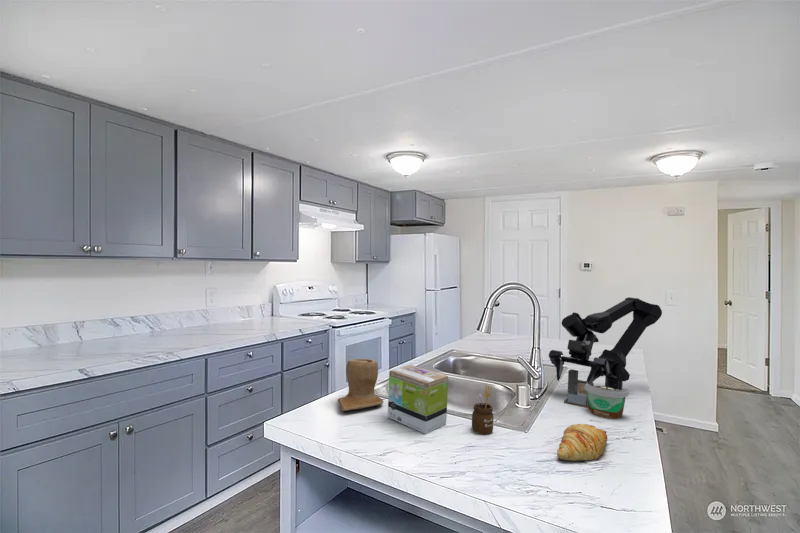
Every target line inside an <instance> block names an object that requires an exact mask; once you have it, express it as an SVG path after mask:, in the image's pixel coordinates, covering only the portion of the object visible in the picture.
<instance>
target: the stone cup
mask: <svg viewBox="0 0 800 533" xmlns="http://www.w3.org/2000/svg"><path fill="white" fill-rule="evenodd" d="M345 372H346V373H345V374H346V379H347V384H348V393H347V394H346V395H345V396H342V397H339V398H338V399H337V402H338V406H339V409H340V411H342V412H347V411H354V410H360V409H366V408H370V407H371V408H372V407H374V406H381V405H382V404H384V399H382V398H381V397H380V396H378V395H377V394H375V387H376V383H377V381H378V376H379V364H378V361H376V360H375V359H370V358H354V359H353V358H352V359H348V360H347V363H346V369H345Z"/></svg>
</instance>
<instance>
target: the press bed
mask: <svg viewBox="0 0 800 533" xmlns="http://www.w3.org/2000/svg"><path fill="white" fill-rule="evenodd" d="M586 381H587V380H583V379H582V380H581V379H578V383H583V384H586ZM594 383H595V381H593V382H592V383H591V384H590V385H594ZM594 386H595V385H594ZM563 399H564V400H563V404H565V405H571V406H576V407H580V408H586V409H588V398H587V405H586V406H584V405H579V404H574V403H569V402H568V393H567V394H566V396H565V397H564V398H563Z"/></svg>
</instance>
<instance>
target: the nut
mask: <svg viewBox="0 0 800 533" xmlns="http://www.w3.org/2000/svg"><path fill="white" fill-rule="evenodd" d="M585 385H586V384H583V383H578V390H577V393H581V394H586V395H587V390H586V389H585ZM587 398H588V396H587Z"/></svg>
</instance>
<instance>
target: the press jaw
mask: <svg viewBox="0 0 800 533" xmlns="http://www.w3.org/2000/svg"><path fill="white" fill-rule="evenodd" d="M578 380H579V370H576V369H572V368H570V369H569V370H568V375H567V394H568V402H569V403H574V404H579V405H584V406H586V405H587V395H586V394H581V393H577V390H578Z"/></svg>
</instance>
